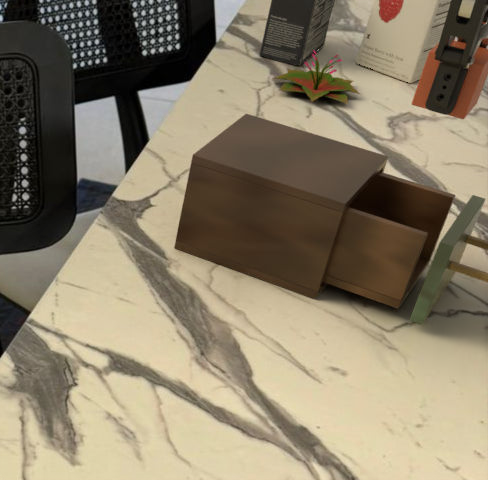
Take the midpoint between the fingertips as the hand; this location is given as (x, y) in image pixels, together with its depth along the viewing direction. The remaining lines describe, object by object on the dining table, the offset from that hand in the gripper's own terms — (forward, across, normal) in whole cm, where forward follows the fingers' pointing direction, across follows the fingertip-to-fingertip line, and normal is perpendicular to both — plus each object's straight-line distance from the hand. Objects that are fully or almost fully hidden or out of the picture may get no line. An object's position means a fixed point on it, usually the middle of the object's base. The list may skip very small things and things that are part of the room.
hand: (446, 101), depth 85 cm
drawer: (+17, 0, -2) cm, 17 cm away
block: (0, 0, 0) cm, 0 cm away
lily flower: (+18, +44, +22) cm, 52 cm away
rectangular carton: (+18, +61, +16) cm, 66 cm away
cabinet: (+18, 0, +11) cm, 21 cm away
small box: (+18, +56, +30) cm, 66 cm away
